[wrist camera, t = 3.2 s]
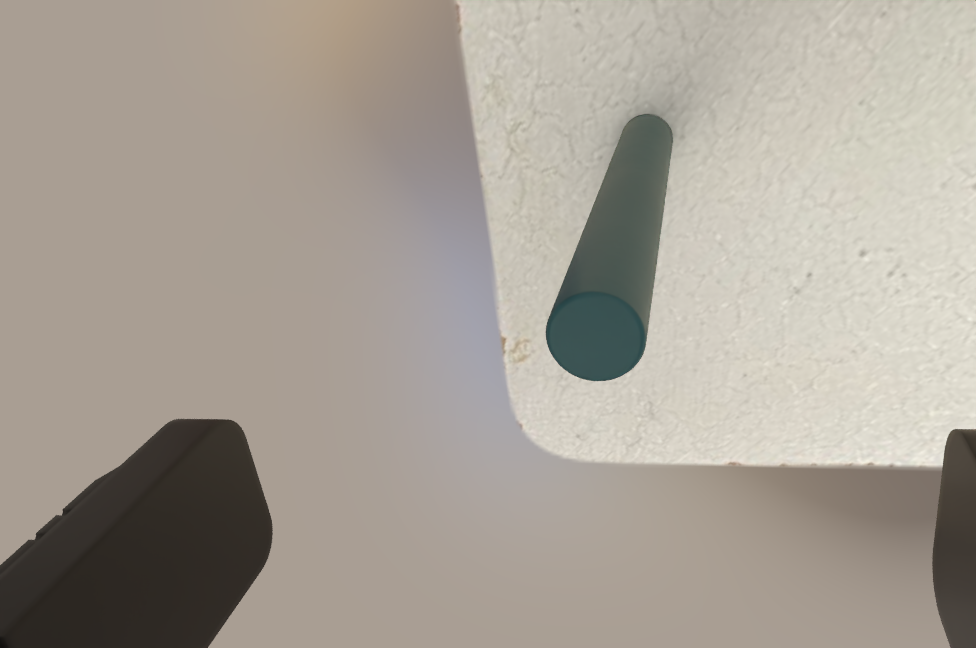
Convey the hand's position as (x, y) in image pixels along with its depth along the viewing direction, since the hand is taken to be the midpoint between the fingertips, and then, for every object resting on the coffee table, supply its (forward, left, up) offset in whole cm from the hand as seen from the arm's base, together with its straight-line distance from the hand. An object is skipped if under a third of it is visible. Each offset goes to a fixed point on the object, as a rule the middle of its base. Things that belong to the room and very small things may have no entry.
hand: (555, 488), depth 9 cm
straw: (0, 0, -18) cm, 18 cm away
